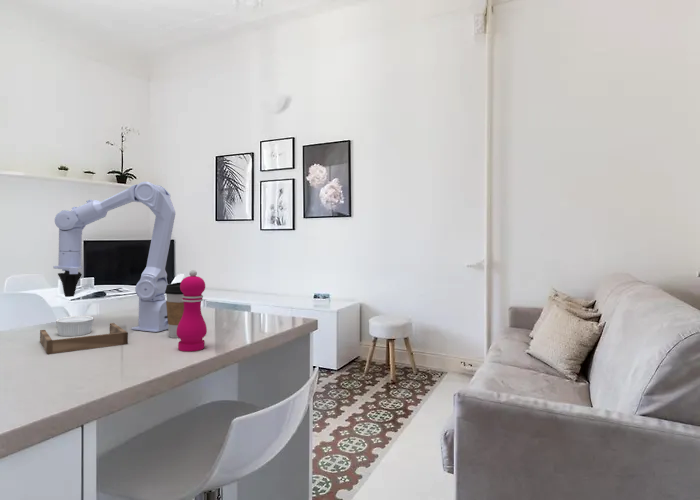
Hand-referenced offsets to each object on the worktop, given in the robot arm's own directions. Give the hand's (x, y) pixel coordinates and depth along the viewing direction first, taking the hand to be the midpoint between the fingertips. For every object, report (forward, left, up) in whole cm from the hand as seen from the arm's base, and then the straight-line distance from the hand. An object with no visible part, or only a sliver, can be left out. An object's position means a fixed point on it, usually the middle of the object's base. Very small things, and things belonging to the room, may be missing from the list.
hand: (69, 296), depth 126 cm
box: (-20, +12, -9) cm, 25 cm away
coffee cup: (-37, -5, -10) cm, 38 cm away
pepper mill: (-49, +5, -10) cm, 50 cm away
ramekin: (-9, +5, -10) cm, 14 cm away
